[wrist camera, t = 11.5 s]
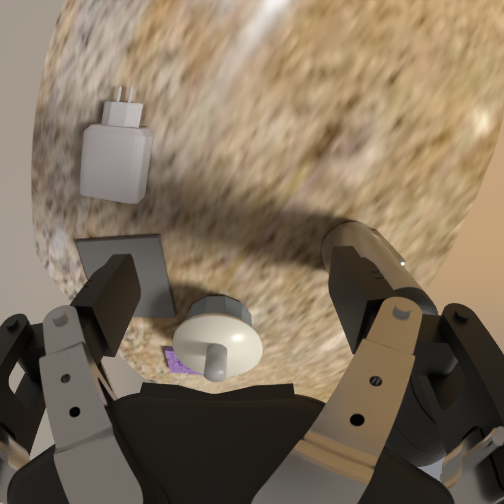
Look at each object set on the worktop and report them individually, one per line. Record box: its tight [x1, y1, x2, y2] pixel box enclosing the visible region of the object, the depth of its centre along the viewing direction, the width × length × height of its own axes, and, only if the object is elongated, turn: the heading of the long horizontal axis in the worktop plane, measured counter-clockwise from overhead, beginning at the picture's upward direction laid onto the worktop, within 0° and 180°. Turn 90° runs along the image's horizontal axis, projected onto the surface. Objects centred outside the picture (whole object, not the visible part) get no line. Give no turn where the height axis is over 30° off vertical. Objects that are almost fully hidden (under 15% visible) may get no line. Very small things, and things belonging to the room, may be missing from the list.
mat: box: [76, 235, 176, 317], centre depth 44 cm, size 15×15×1 cm
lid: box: [173, 313, 263, 382], centre depth 40 cm, size 14×14×6 cm
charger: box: [80, 86, 154, 204], centre depth 32 cm, size 5×9×15 cm
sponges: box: [165, 346, 204, 375], centre depth 53 cm, size 7×13×2 cm, turn 87°
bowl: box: [186, 296, 252, 326], centre depth 46 cm, size 11×11×6 cm
